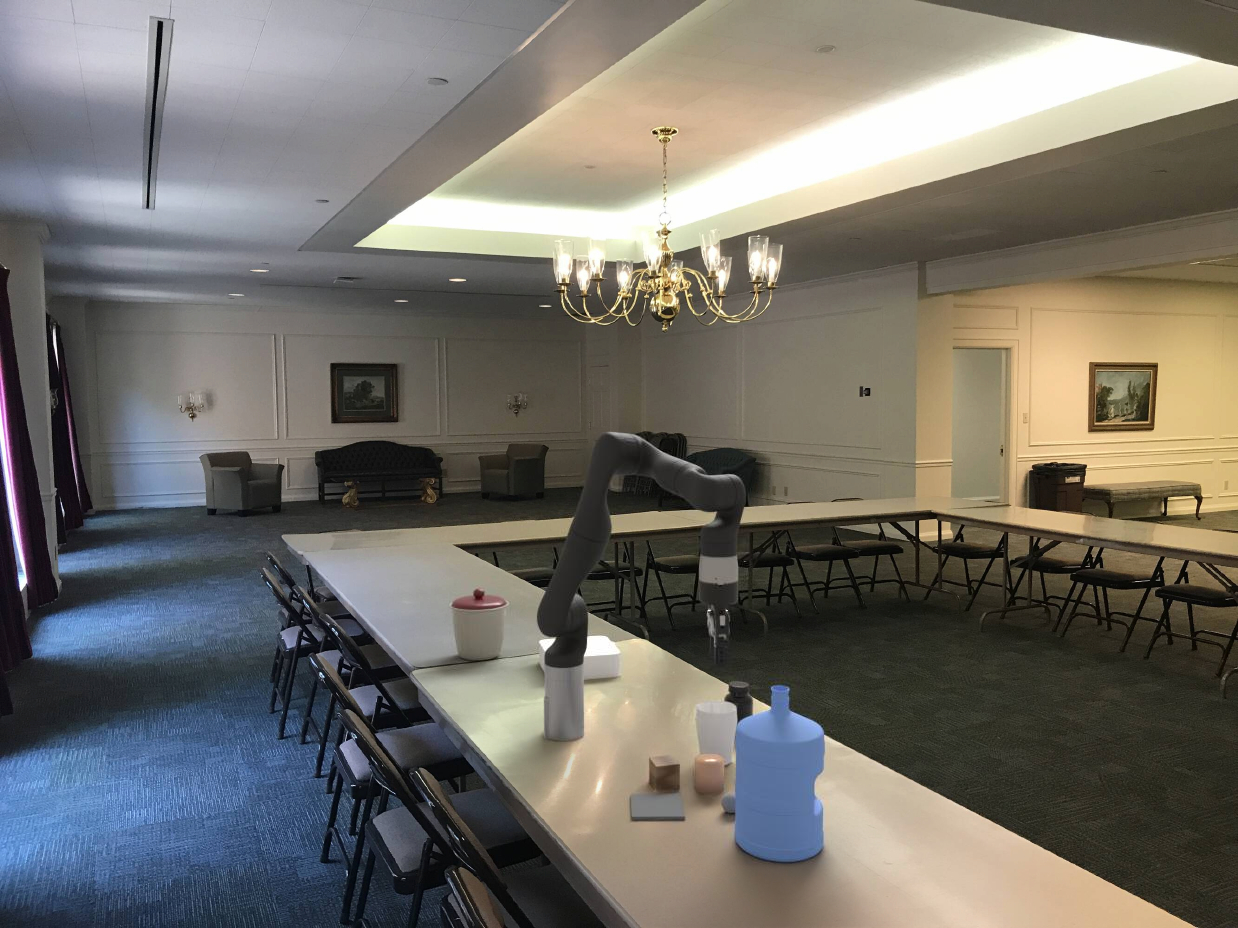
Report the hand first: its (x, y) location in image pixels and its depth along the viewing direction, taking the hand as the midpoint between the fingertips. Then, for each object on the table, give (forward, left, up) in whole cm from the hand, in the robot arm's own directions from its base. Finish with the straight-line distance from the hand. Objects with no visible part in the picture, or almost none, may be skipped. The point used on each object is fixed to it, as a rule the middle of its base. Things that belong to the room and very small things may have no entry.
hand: (718, 660), depth 177 cm
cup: (+2, +20, -28) cm, 35 cm away
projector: (-31, +89, -29) cm, 98 cm away
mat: (-12, -3, -28) cm, 31 cm away
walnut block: (-10, +8, -28) cm, 31 cm away
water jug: (+9, -17, -28) cm, 34 cm away
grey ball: (+2, -5, -28) cm, 29 cm away
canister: (-62, +102, -28) cm, 123 cm away
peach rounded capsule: (-1, +6, -28) cm, 29 cm away
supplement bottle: (+9, +36, -28) cm, 47 cm away
